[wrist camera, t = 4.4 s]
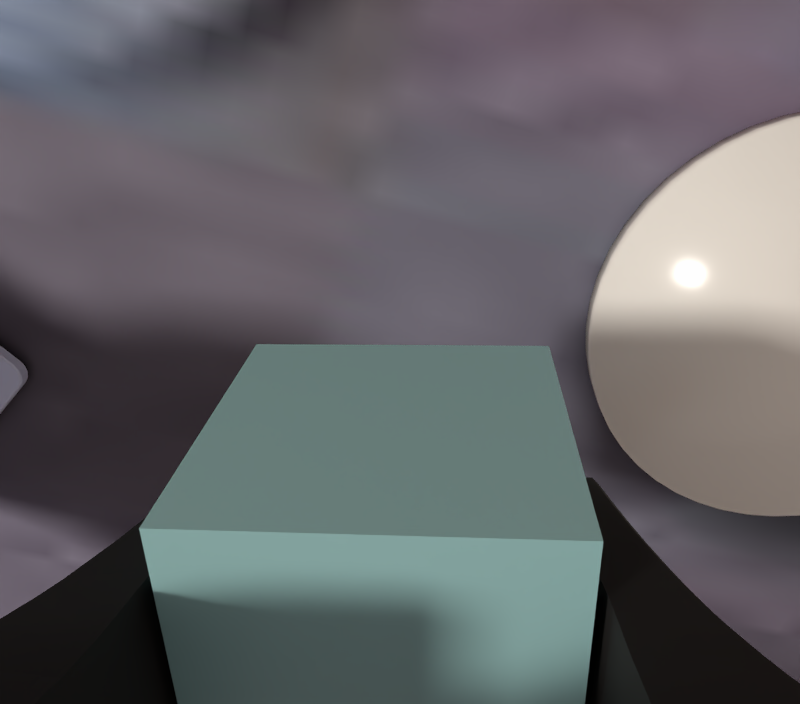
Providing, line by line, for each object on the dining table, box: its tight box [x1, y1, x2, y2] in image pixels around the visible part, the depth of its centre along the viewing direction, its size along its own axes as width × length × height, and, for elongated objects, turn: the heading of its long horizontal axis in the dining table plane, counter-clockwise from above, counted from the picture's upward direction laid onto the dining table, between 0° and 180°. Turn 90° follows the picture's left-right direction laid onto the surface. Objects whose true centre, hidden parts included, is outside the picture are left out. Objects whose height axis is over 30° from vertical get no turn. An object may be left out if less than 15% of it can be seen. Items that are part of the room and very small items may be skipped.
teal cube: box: [139, 344, 603, 704], centre depth 11 cm, size 5×5×5 cm
